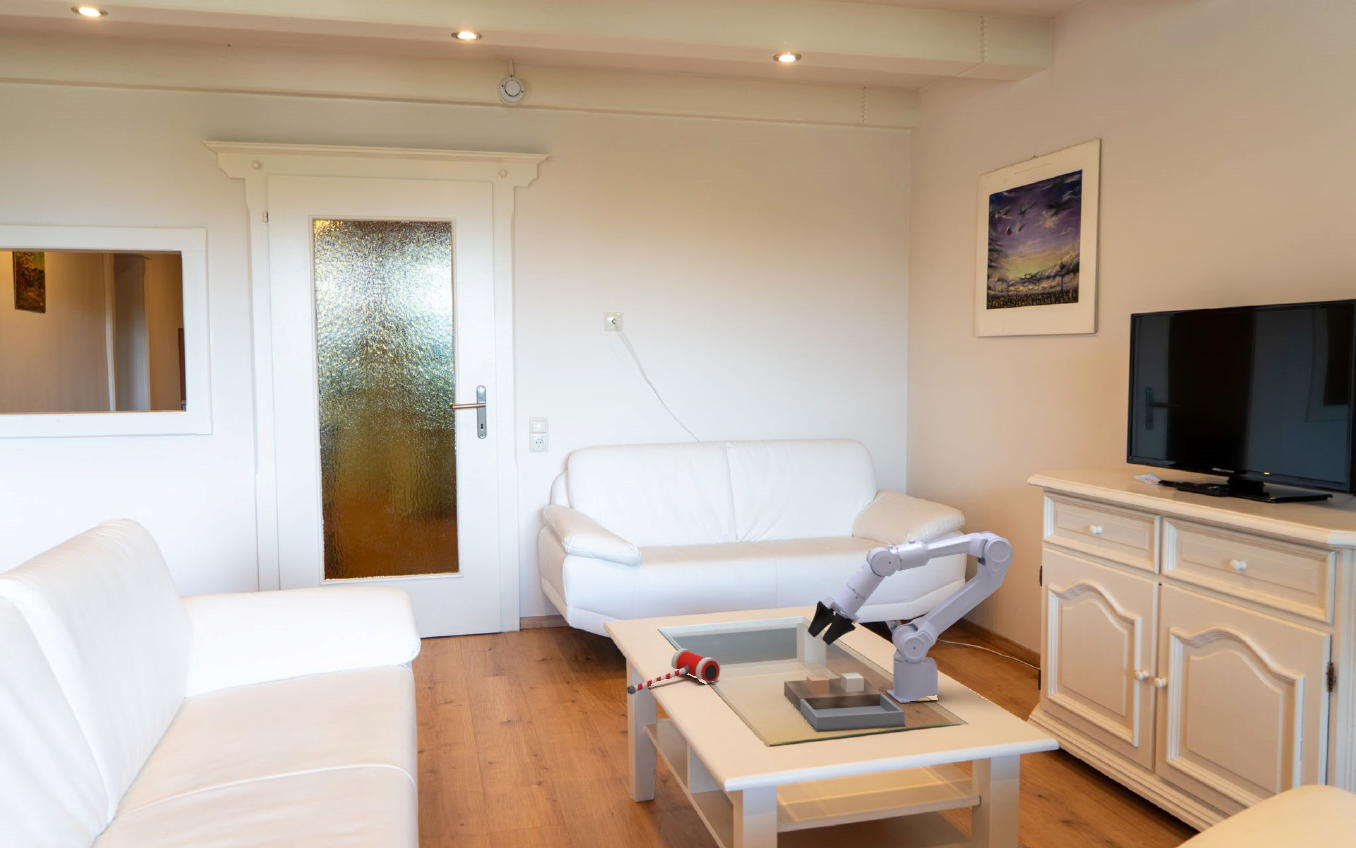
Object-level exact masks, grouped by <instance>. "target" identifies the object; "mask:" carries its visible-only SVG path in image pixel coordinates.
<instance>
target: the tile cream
mask: <svg viewBox="0 0 1356 848" xmlns="http://www.w3.org/2000/svg"><path fill="white" fill-rule="evenodd" d="M840 678H841V687H842V688H843V689H844V690H845V691H846V692H858V691H864V678H865V677H863V676H862V674H860V673H859V672H847V673H846V672H845V673H840Z"/></svg>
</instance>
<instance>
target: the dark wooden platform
mask: <svg viewBox="0 0 1356 848" xmlns="http://www.w3.org/2000/svg"><path fill="white" fill-rule="evenodd" d="M828 679H829V693H824V694H811V693H810V692H809V691H808V690H807V679H804V680H803V679H802V680H785V681H783V695H784V696H785V697H786V699H788V700H789V701H790V703H791V705H793V706H794V707H795V709H796V710H797V711H798V712H799V713H800V699H804V700H805V701H806V702H807V703H808V704H809V705H810V706H811V707H812V708H813V709H814V710H817V709H834V708H850V707H866V706H880V694H884V693H883V692H881V690H879V689H878V688H877V687H876V686H874V685H873V684H872V683H871V682H869V680H867V679H866V678H865V677H864V691H858V692H846V691H845V690H844V689H843V688H842V687H841V677H838V678H836V677H835V678H828Z"/></svg>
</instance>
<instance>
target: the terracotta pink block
mask: <svg viewBox="0 0 1356 848" xmlns="http://www.w3.org/2000/svg"><path fill="white" fill-rule="evenodd" d="M829 679H830V678H828V677H827V676H826V675H825V674H824V673H823V674H809V675H806V680H807V690H808V691H809V692H810V693H811V694H824V693H829Z"/></svg>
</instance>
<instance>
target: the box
mask: <svg viewBox="0 0 1356 848" xmlns="http://www.w3.org/2000/svg"><path fill="white" fill-rule="evenodd" d="M799 713H800V714H801V715H802V716H803V718H804V719H805V720H806V721H807V722H808V724H810V726H811V727H812V728H813V729H814V730H815V732H817V733H820V732H836V731H850V730H866V729H867V730H868V729H878V728H879V729H881V728H882V729H883V728H895V727H896V728H897V727H898V728H899V727H905V725H906V723H905V722H906V720H905V719H906V712H905V711H904V710H903V709H902V708H901V707H899V706H898V705H897V704H896V703H895V702H894V701H892V700H891V699H890V698H889V697H888V696H886V695H885V694H884V693H883V694H880V706H866V707H850V708H834V709H817V710H814V709H813V708H812V707H811V706H810V705H809V704H808V703H807V702H806V701H805V700H804V699H800V712H799Z"/></svg>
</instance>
